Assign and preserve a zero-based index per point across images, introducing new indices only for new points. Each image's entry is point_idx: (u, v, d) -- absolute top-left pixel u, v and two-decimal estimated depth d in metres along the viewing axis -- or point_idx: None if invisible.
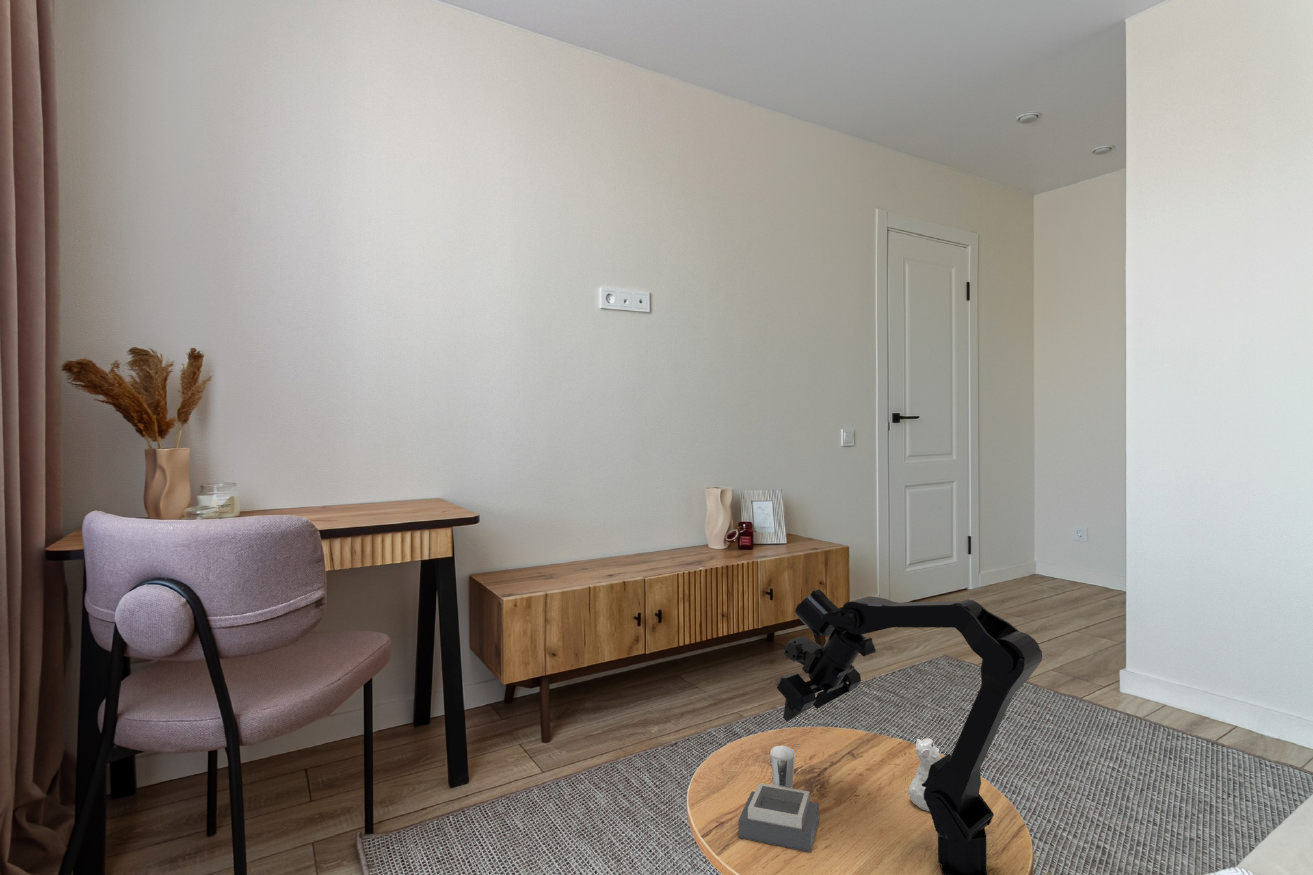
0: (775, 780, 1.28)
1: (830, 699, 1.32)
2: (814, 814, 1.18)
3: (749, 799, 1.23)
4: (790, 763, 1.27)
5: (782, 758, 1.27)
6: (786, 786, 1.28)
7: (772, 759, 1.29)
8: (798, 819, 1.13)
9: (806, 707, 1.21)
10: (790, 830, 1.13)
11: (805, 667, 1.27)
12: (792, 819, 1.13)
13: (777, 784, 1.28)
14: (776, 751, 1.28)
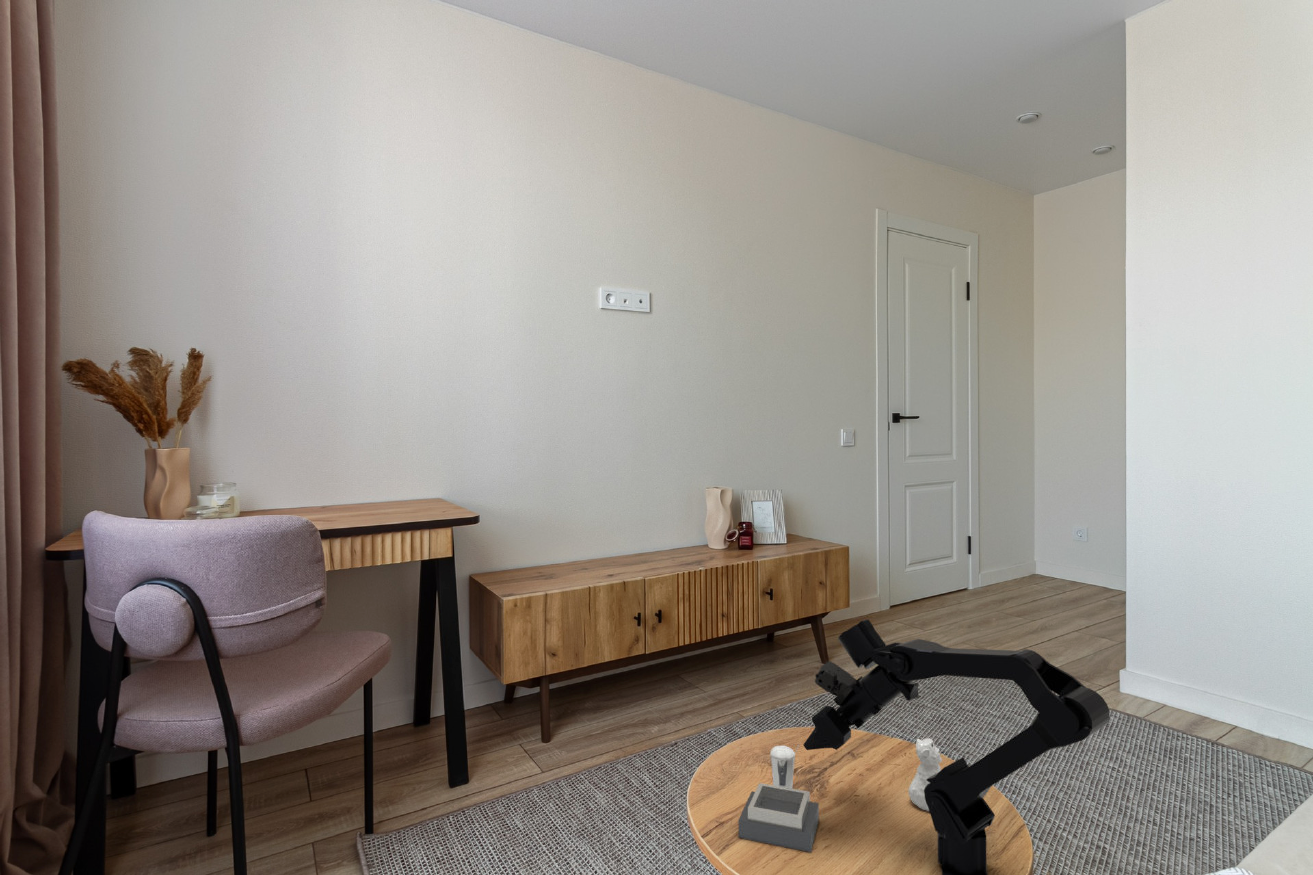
0: (775, 780, 1.28)
1: None
2: (814, 814, 1.18)
3: (749, 799, 1.23)
4: (790, 763, 1.27)
5: (782, 758, 1.27)
6: (786, 786, 1.28)
7: (772, 759, 1.29)
8: (798, 819, 1.13)
9: None
10: (790, 830, 1.13)
11: (838, 699, 1.20)
12: (792, 819, 1.13)
13: (777, 784, 1.28)
14: (776, 751, 1.28)
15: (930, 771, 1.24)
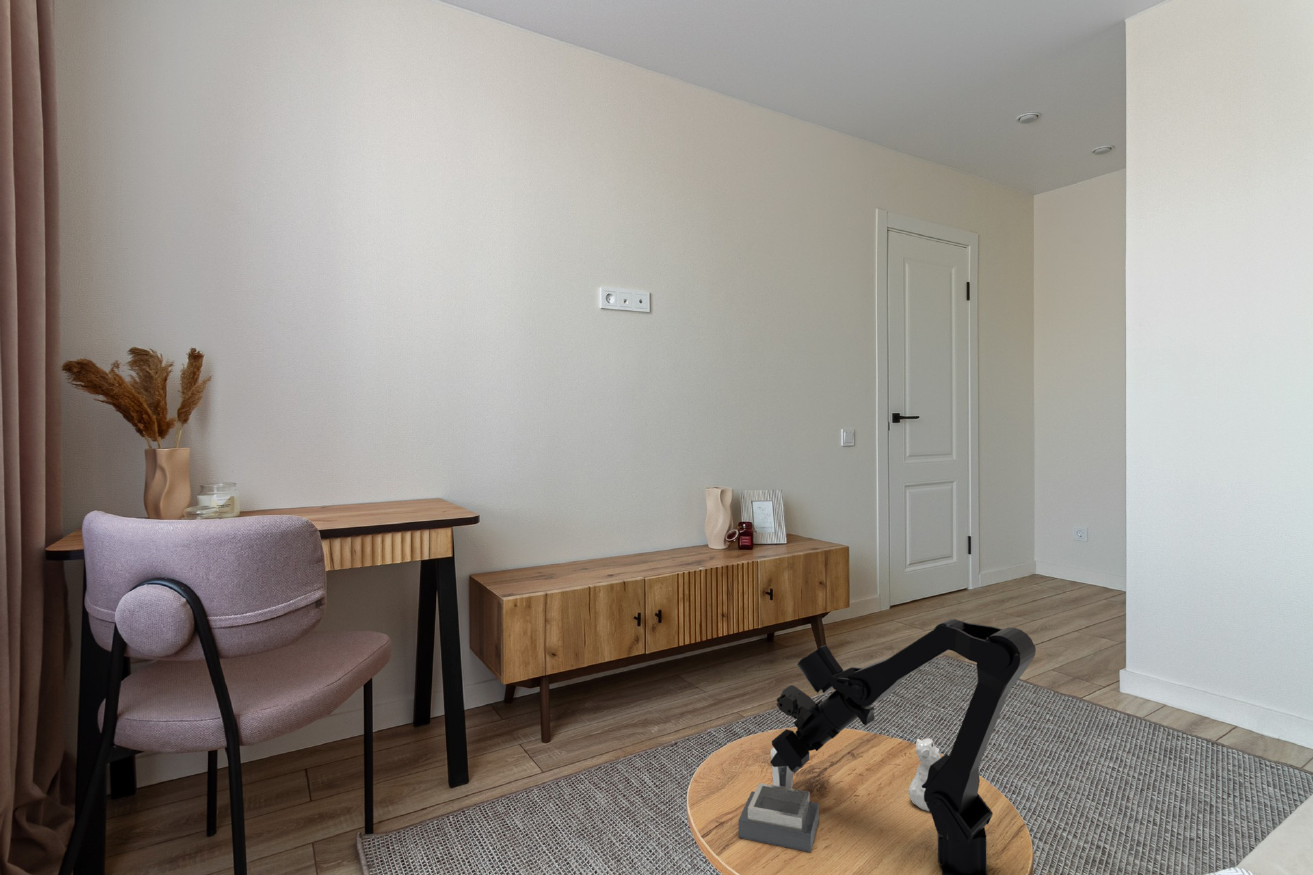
0: (775, 780, 1.28)
1: None
2: (814, 814, 1.18)
3: (749, 799, 1.23)
4: None
5: None
6: (786, 786, 1.28)
7: None
8: (798, 819, 1.13)
9: None
10: (790, 830, 1.13)
11: (798, 722, 1.25)
12: (792, 819, 1.13)
13: (777, 784, 1.28)
14: None
15: None
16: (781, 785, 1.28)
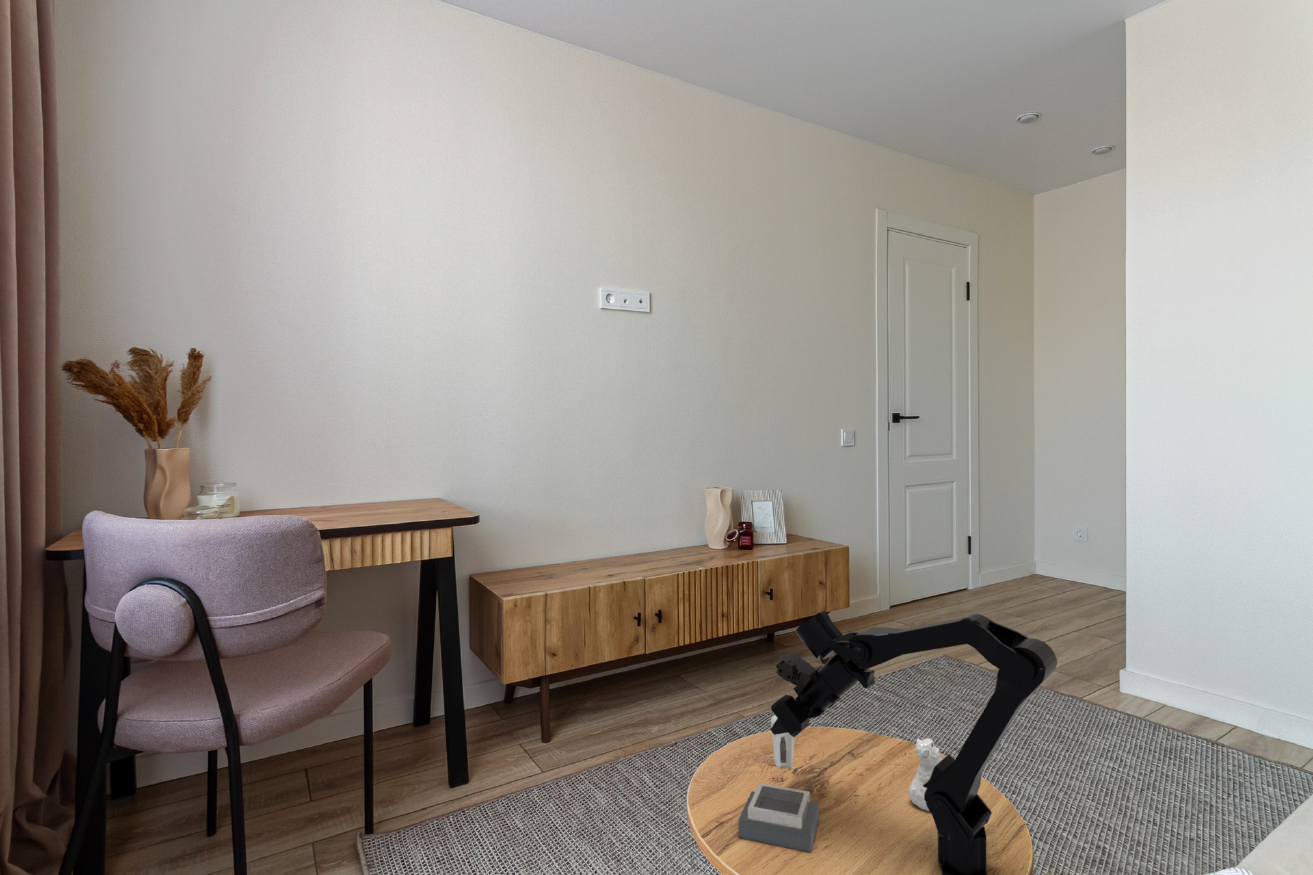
0: (776, 748, 1.27)
1: None
2: (814, 814, 1.18)
3: (749, 799, 1.23)
4: None
5: None
6: (787, 753, 1.26)
7: None
8: (798, 819, 1.13)
9: None
10: (790, 830, 1.13)
11: (797, 688, 1.23)
12: (792, 819, 1.13)
13: (778, 752, 1.27)
14: (776, 718, 1.27)
15: (930, 771, 1.24)
16: (782, 753, 1.26)
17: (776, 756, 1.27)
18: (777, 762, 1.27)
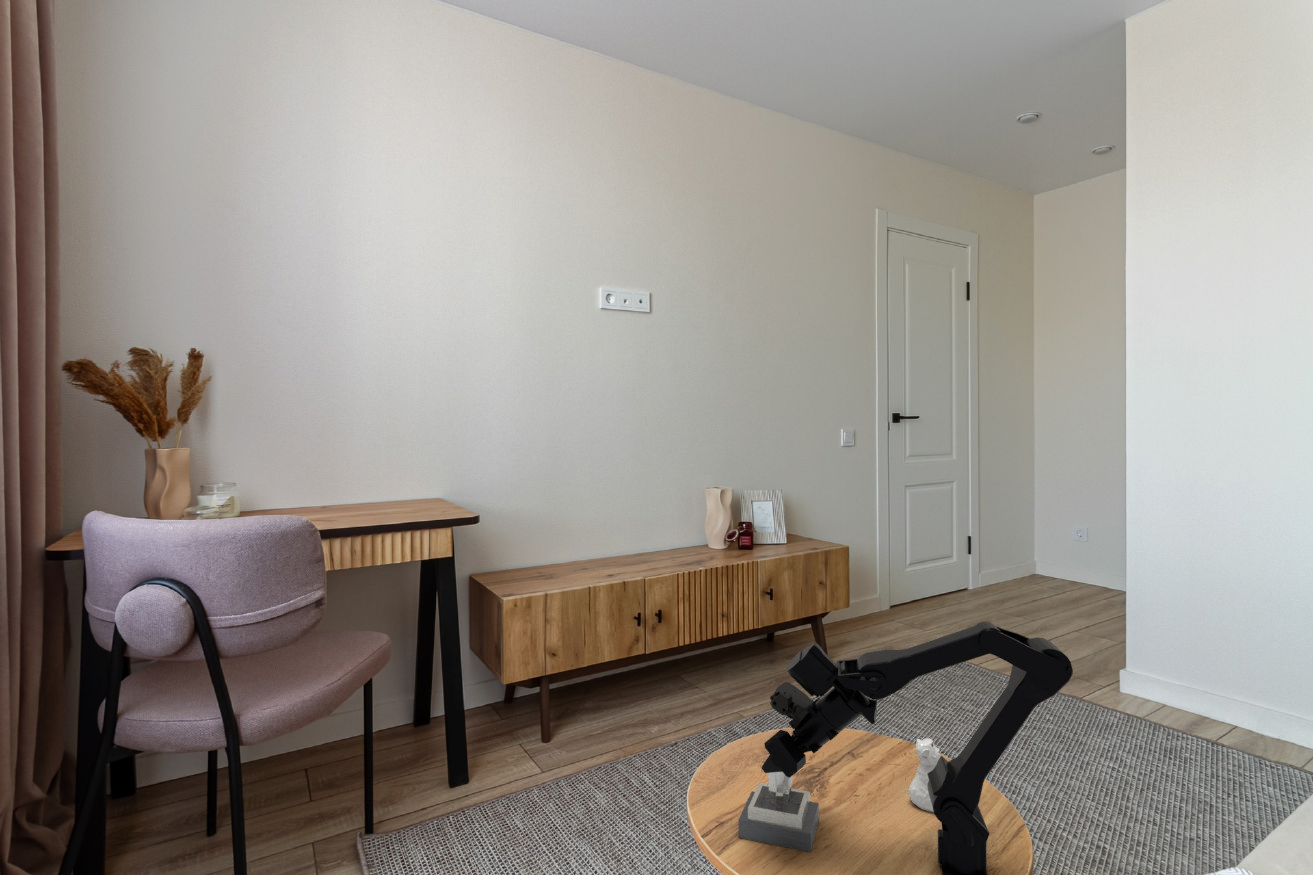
0: (771, 793, 1.18)
1: None
2: (814, 814, 1.18)
3: (749, 799, 1.23)
4: None
5: None
6: (783, 800, 1.17)
7: None
8: (798, 819, 1.13)
9: None
10: (790, 830, 1.13)
11: (793, 722, 1.14)
12: (792, 819, 1.13)
13: (773, 797, 1.17)
14: None
15: (930, 771, 1.24)
16: (778, 799, 1.17)
17: (771, 802, 1.18)
18: (772, 808, 1.18)
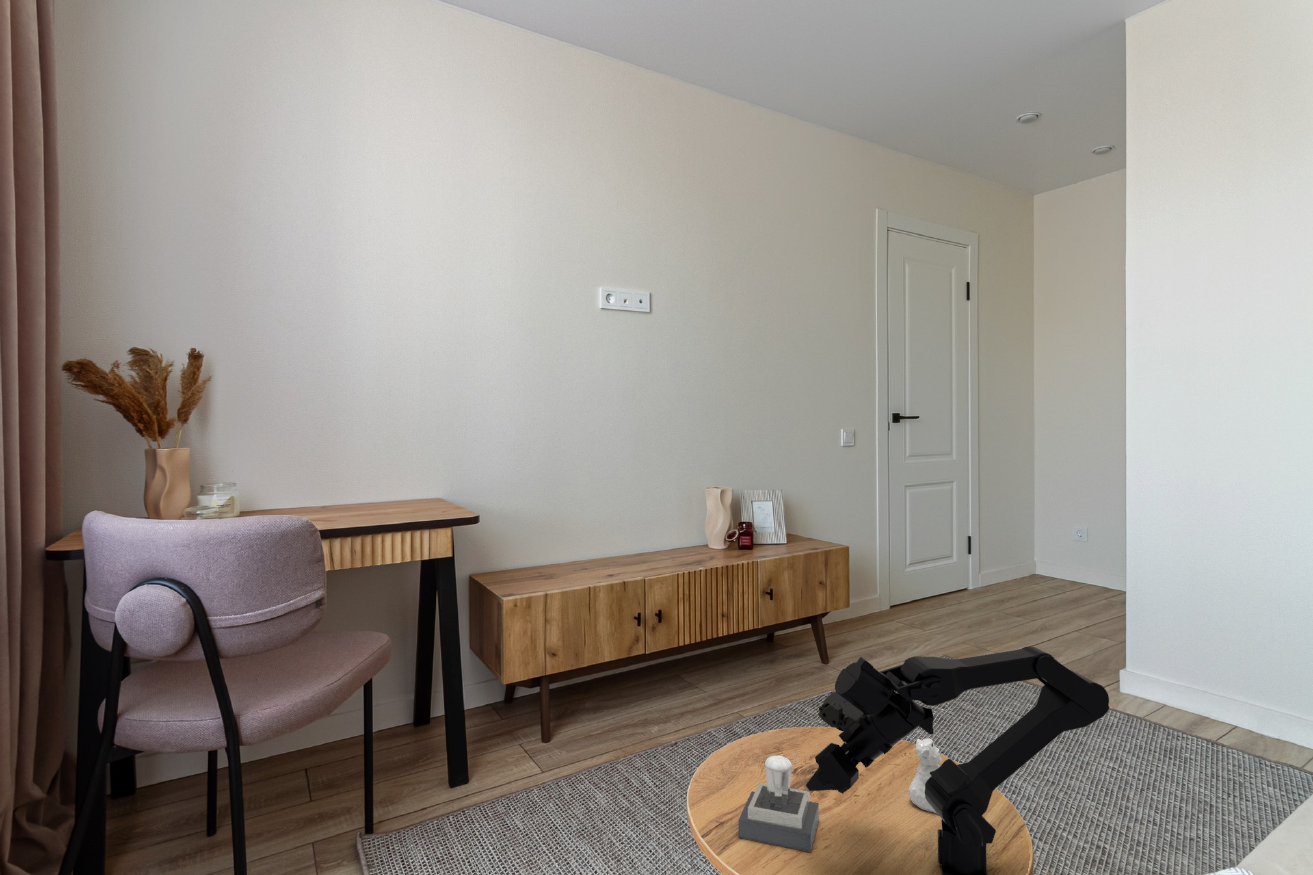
0: (770, 793, 1.18)
1: None
2: (814, 814, 1.18)
3: (749, 799, 1.23)
4: (786, 775, 1.17)
5: (777, 770, 1.17)
6: (782, 800, 1.17)
7: (767, 770, 1.18)
8: (798, 819, 1.13)
9: None
10: (790, 830, 1.13)
11: (844, 735, 1.09)
12: (792, 819, 1.13)
13: (772, 798, 1.18)
14: (771, 762, 1.18)
15: (930, 771, 1.24)
16: (777, 799, 1.17)
17: (771, 802, 1.18)
18: (772, 809, 1.18)
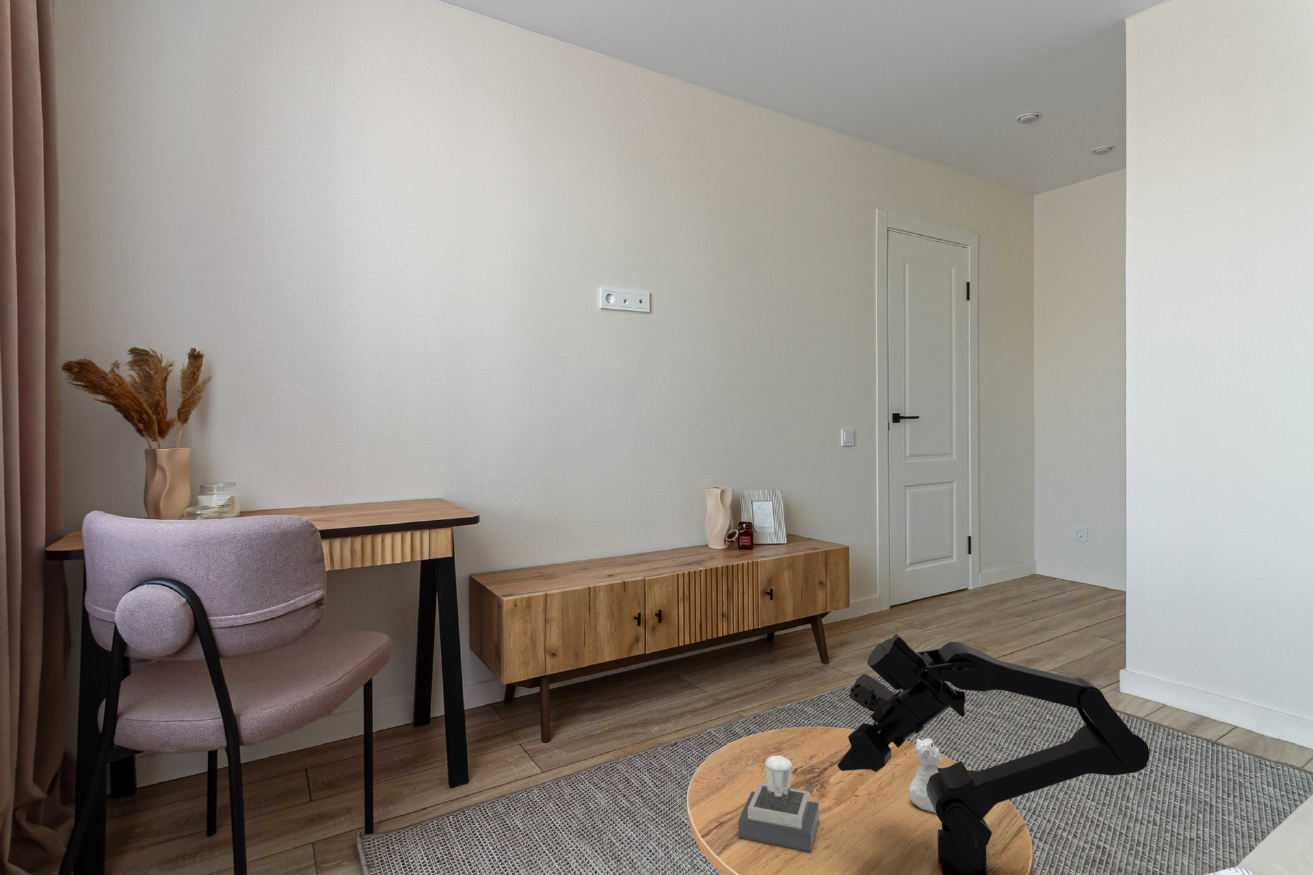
0: (770, 793, 1.18)
1: None
2: (814, 814, 1.18)
3: (749, 799, 1.23)
4: (786, 775, 1.17)
5: (777, 770, 1.17)
6: (782, 800, 1.17)
7: (767, 771, 1.18)
8: (798, 819, 1.13)
9: None
10: (790, 830, 1.13)
11: (875, 715, 1.10)
12: (792, 819, 1.13)
13: (772, 798, 1.17)
14: (771, 762, 1.18)
15: (930, 771, 1.24)
16: (777, 799, 1.17)
17: (771, 802, 1.18)
18: (772, 809, 1.18)
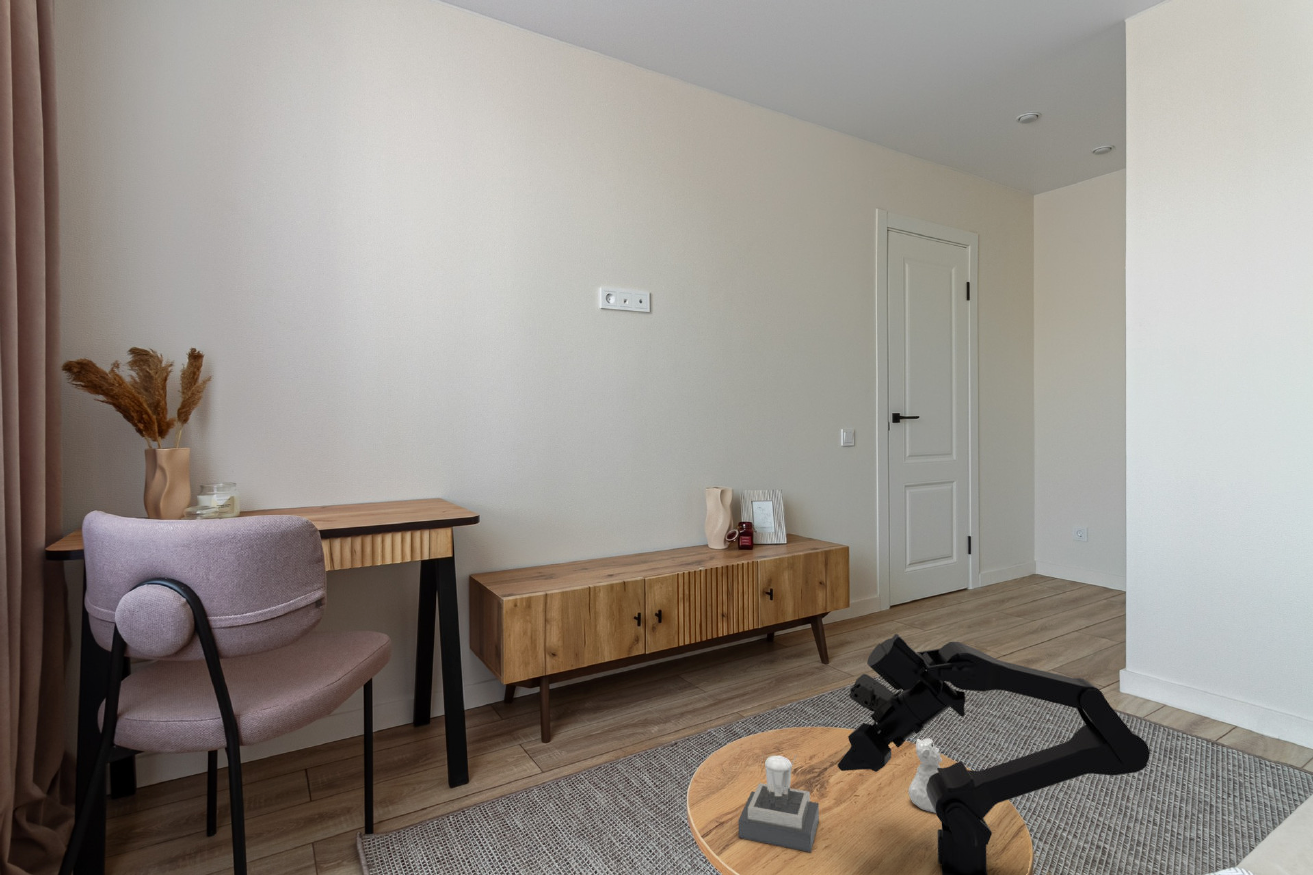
0: (770, 793, 1.18)
1: None
2: (814, 814, 1.18)
3: (749, 799, 1.23)
4: (786, 775, 1.17)
5: (777, 770, 1.17)
6: (782, 800, 1.17)
7: (767, 770, 1.18)
8: (798, 819, 1.13)
9: None
10: (790, 830, 1.13)
11: (875, 715, 1.10)
12: (792, 819, 1.13)
13: (772, 798, 1.17)
14: (771, 762, 1.18)
15: (930, 771, 1.24)
16: (777, 799, 1.17)
17: (771, 802, 1.18)
18: (772, 809, 1.18)
